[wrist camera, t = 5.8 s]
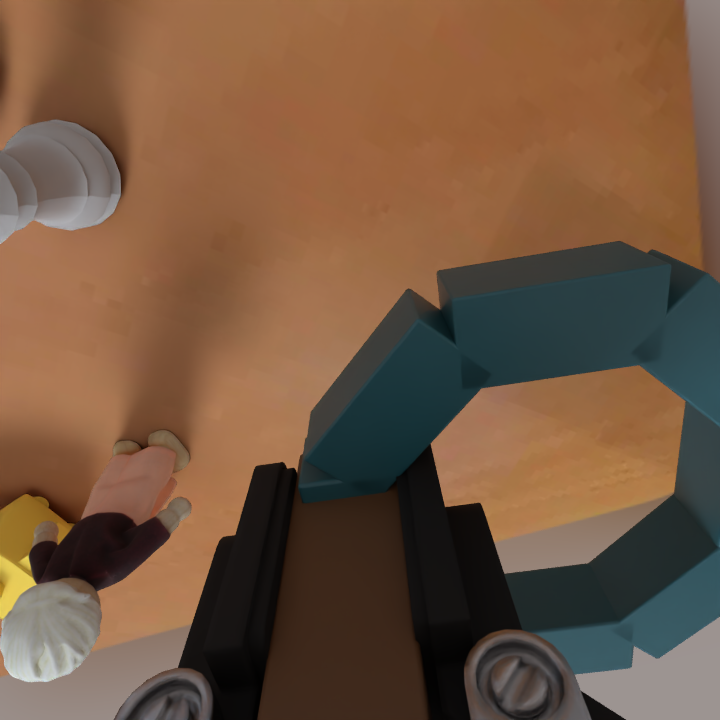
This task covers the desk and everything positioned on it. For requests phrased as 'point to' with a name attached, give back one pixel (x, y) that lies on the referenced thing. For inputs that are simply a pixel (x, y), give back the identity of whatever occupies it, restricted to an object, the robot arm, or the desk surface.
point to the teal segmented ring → (427, 420)
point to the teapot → (21, 545)
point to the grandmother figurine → (93, 558)
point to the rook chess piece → (56, 178)
